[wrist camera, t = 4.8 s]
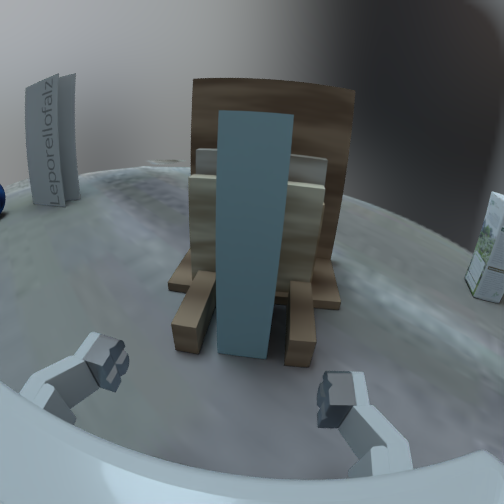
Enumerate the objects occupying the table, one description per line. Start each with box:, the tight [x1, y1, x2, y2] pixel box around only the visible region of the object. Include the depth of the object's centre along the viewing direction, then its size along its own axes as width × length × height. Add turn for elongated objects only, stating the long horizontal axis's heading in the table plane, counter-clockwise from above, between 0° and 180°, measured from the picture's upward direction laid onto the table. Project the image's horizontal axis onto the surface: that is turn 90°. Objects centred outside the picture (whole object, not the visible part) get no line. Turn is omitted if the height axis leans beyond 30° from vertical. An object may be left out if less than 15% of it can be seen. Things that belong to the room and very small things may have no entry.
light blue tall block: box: [216, 110, 294, 359], centre depth 21 cm, size 7×4×18 cm, turn 173°
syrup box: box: [465, 192, 504, 303], centre depth 28 cm, size 6×6×14 cm
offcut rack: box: [168, 78, 355, 367], centre depth 25 cm, size 19×18×22 cm
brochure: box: [25, 74, 81, 207], centre depth 48 cm, size 14×6×30 cm, turn 77°
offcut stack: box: [188, 148, 328, 293], centre depth 28 cm, size 5×13×13 cm, turn 83°
